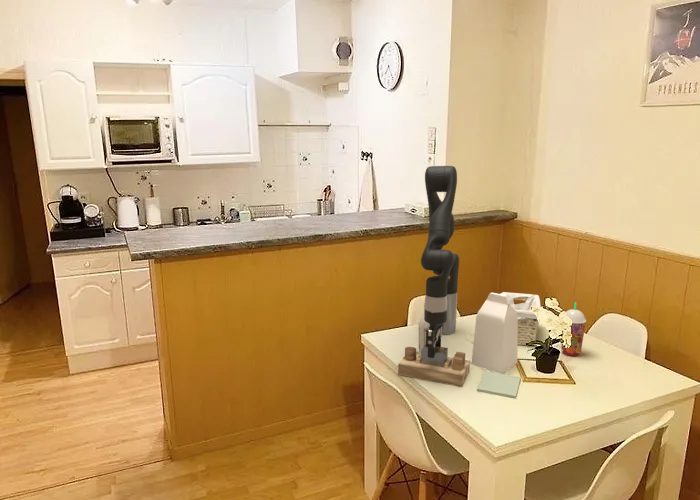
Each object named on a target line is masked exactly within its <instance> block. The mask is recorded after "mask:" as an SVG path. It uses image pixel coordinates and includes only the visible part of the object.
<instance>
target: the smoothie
mask: <svg viewBox="0 0 700 500" xmlns="http://www.w3.org/2000/svg"><path fill="white" fill-rule="evenodd" d="M573 305H574V306H573V308H572V309H568V310H567V311H565V312H564V314H565V313H566V314H567V316H568V317H569V318H570V319H571V320H572V326H571V334H572V337H571V347H569V348H564V347H563V344H561V350H562V353H563V354H564V355H567V356H570V357H577V356H579V355H580V353H581V352H582V349H583V348H582V346H583V342H584V335H585V329H586V324H587V323H586V322H587V319H586V317H585V315H584V313H583V312H582V311H581V310H579V309H577V301H575V302H574V304H573Z"/></svg>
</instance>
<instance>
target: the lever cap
mask: <svg viewBox="0 0 700 500" xmlns="http://www.w3.org/2000/svg"><path fill="white" fill-rule="evenodd" d="M425 345H426V344H425ZM425 345H424V347H423V348H422V349H421V363H422V364H428V365H433V366H439V367H444V366H445V362H446V361H447V359H448V357H449V355H448V353H449V352H448V351H449V348H448V347H444V346H441V347H439V346H435V357H434V358H429V357H428V347H426V346H425Z"/></svg>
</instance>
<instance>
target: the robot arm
mask: <svg viewBox="0 0 700 500" xmlns="http://www.w3.org/2000/svg"><path fill="white" fill-rule="evenodd" d="M424 184H425V191H426V192H425V193H426V197H427V203H428V220H429V224H428V236H427V242H426V244H425V247H424V250H423V252H422V253H421V254H422V255H421V258H420V265H421V267H422V268H423V269H424V270H425V271H431V272H433V274H434V276H433V275H432V276H430V277H427V278H426V281H425V298H424V303H425V309H424V308H423V314H424V320H425V321H426V322H428V323H429V324H430V326H429V327H428V330H426V345H425V346H426V347H428V357H429V358H434V357H435V346H439V347H442V338H443V335H452V334H454V333H456V331H457V330H456V329H457V328H456V327H457V310H458V308H457V307H458V306H457V304H458V281H459V279H458V278H459V269H460V257H459V255H458V254H457V253H453V252H452V251H451V250H449V249H443V248H444V246H446V245H448V244H449V242H450V239H451V238H452V237H453V235H454V232H455V219H454V215H453V208H454V204H455V198H456V193H457V192H456V190H457V186H458V185H457V184H458V171H457V168H456V167H455V166H453V165H433V166H432V165H431V166H427V167H426V169H425V171H424ZM439 193H445V196H444V198H443V200H441V198H440V196H439ZM430 341H431V342H432V344H430Z"/></svg>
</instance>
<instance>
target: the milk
mask: <svg viewBox="0 0 700 500" xmlns="http://www.w3.org/2000/svg"><path fill="white" fill-rule="evenodd" d="M517 337H518V315H517V312H516V311H515V310H514V309H513V307H512V306H511V305H510V303H509V300H508V297H507V296H506V295H501V293H496V292H490V293H488V295H487V298H486V300H485V301H484V303H483V304H482V305H481V307H480V309H478V312H477V314H476V317H475V325H474V335H473V342H472V343H473V345H472V354H471V362H470V364H471V365H474V366H477V367H480V368H482V369H486V370H489V371H491V372H495V373H501V374H505V373H506V372H507V371H509V369H511V368H512V367H515V365H516V363H517V364H518V344H517Z"/></svg>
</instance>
